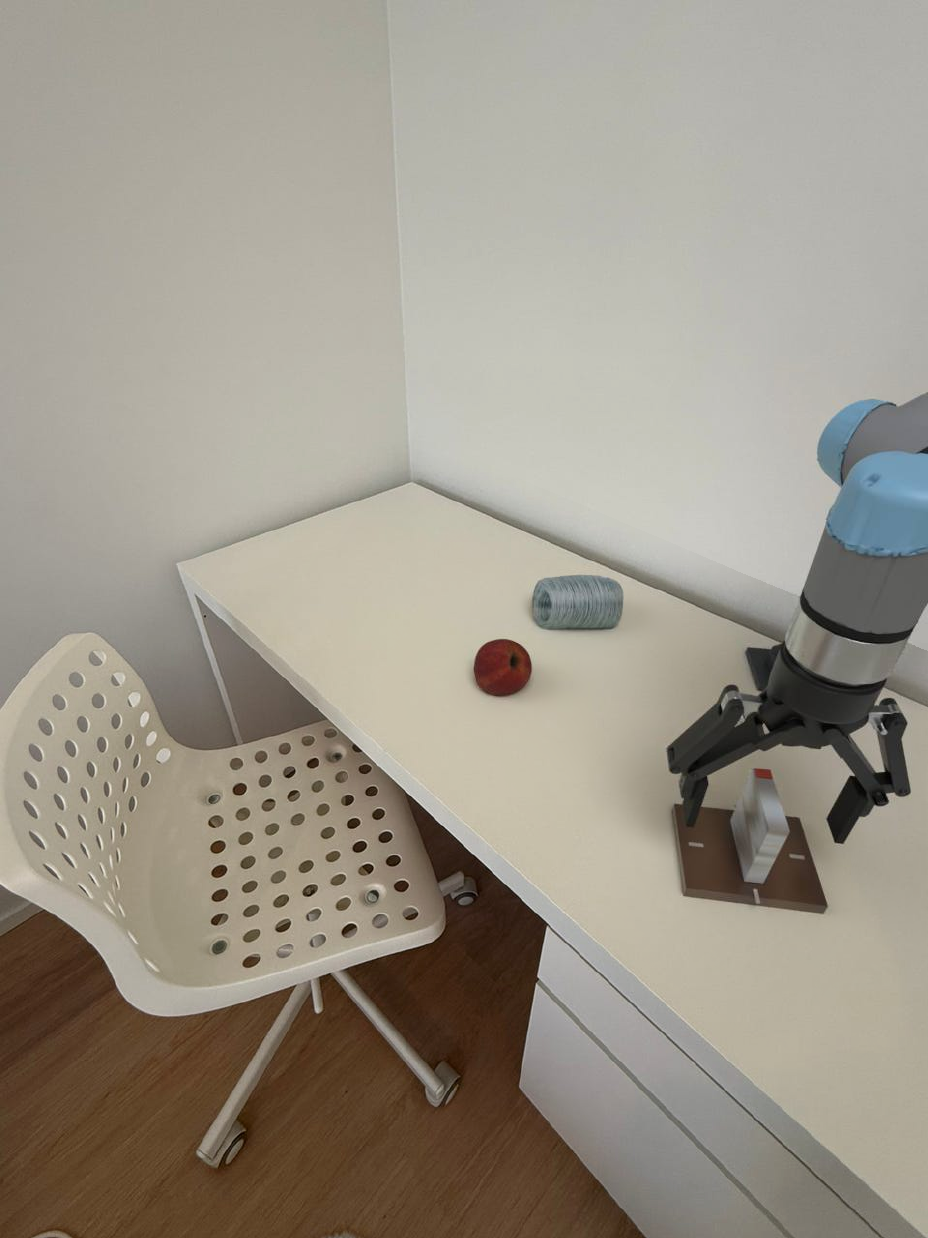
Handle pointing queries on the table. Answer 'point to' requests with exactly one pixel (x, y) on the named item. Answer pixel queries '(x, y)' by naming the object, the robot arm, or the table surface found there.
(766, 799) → the tap handle
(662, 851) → the table surface
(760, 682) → the switch block
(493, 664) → the apple
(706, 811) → the base
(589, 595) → the spool
